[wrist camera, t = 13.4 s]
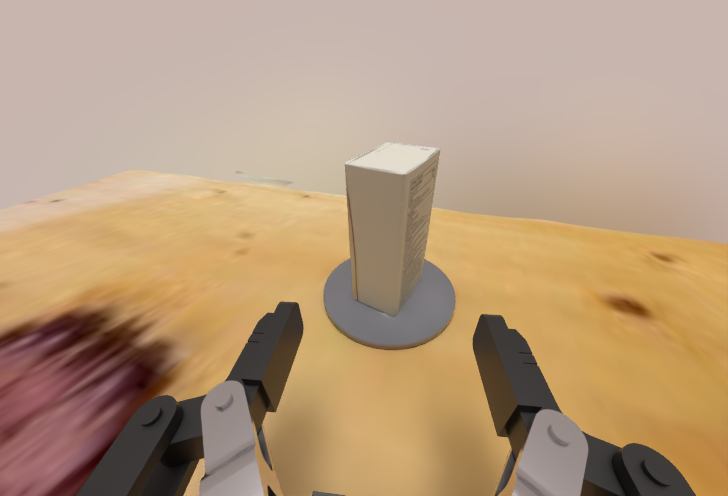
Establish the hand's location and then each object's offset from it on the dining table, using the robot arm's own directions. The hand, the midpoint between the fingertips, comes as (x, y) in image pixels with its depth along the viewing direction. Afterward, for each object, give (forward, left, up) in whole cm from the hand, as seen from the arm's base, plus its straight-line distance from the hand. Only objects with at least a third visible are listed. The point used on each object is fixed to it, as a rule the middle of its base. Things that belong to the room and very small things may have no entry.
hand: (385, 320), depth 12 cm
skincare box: (0, +10, -8) cm, 13 cm away
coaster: (0, +10, -8) cm, 13 cm away
